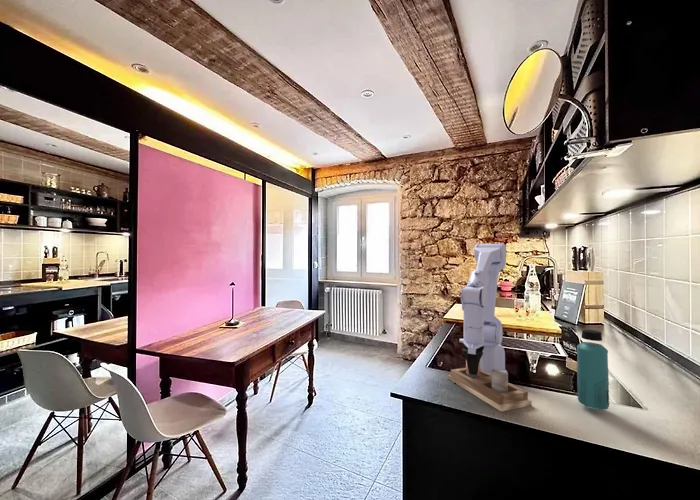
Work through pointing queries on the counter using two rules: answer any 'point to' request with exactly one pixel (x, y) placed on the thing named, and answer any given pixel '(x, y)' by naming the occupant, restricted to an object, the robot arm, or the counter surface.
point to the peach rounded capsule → (473, 374)
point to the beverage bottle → (592, 372)
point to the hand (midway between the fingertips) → (473, 371)
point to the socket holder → (492, 388)
